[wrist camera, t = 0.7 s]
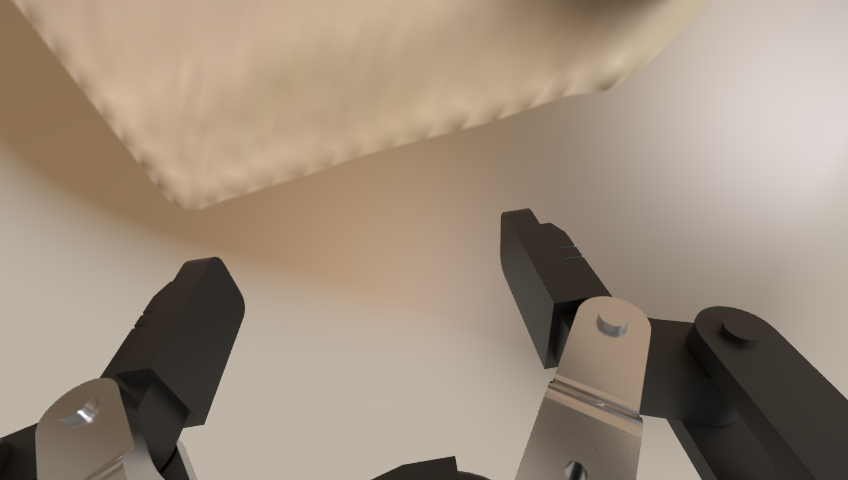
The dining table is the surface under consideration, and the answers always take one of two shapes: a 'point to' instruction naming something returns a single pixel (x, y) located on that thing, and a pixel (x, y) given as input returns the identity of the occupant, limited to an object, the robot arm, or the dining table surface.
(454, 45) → the dining table surface
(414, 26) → the dining table surface
